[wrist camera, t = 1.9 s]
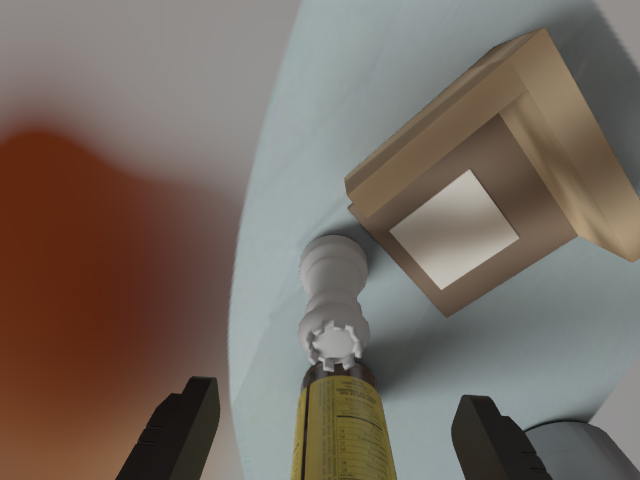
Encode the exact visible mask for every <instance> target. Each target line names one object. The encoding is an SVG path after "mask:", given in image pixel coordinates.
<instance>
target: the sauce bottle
mask: <svg viewBox="0 0 640 480" xmlns="http://www.w3.org/2000/svg"><path fill="white" fill-rule="evenodd" d="M354 364H355V366H353V367H351V368H349V369H347V370H345V369H344V367H343V363H338V364H334V372H331V371H325V370H323V362H322V361H321V362H319V363H317V364H316V365H314V366H312V367H311V368H310V369H309V370H308V371H307V373H306V375H305V377H304V379H303V382H302V386H301V395H300V397H299V399H298V407H297V417H296V428H295V439H294V450H293V461H292V471H291V480H397V476H396V471H395V466H394V461H393V456H392V451H391V446H390V441H389V436H388V431H387V426H386V420H385V415H384V410H383V405H382V401H381V398H380V396H379V394H378V389H377V384H376V382H375V379H374V378H373V376H372V374H371V372H370V371H369V370H368V368H366V367H365V366H364V365H362V364H360V363H358V362H355V361H354Z"/></svg>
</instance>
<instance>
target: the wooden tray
mask: <svg viewBox="0 0 640 480" xmlns="http://www.w3.org/2000/svg"><path fill="white" fill-rule="evenodd" d="M344 181H345V187H346V192H347V196H348V197H349V198H350V200H351V201H352V202H353V203H352V204H351V205H350V206H349V207H348V210H349V211H350V212H351V213H352V214H353V216H354V217H355V218H356V219H357V220H358V221H359V222H360V223H361V224H362V225H363V227H364V228H365V229H366V230H367V231H368V232H369V233H370V234H371V235H372V236H373V238H374V239H375V240H376V241H377V242H378V243H379V244H380V245H381V246H382V247H383V249H384V250H385V251H386V252H387V253H388V254H389V255H390V256H391V257H392V258H393V260H394V261H395V262H396V263H397V264H398V265H399V266H400V267H401V268H402V270H403V271H404V272H405V273H406V274H407V275H408V276H409V277H410V278H411V279H412V281H413V282H414V283H415V284H416V285H417V286H418V287H419V288H420V289H421V290H422V292H423V293H424V294H425V295H426V296H427V297H428V298H429V299H430V300H431V301H432V303H433V304H434V305H435V306H436V307H437V308H438V309H439V310H440V311H441V312H442V314H443V315H444V316H445V317H446V318H447V317H449V316H451V315H452V314H454V313H455V312H457V311H459V310H460V309H462V308H463V307H465V306H467V305H468V304H470V303H471V302H473V301H474V300H476V299H478V298H479V297H481V296H482V295H484V294H486V293H487V292H489V291H490V290H492V289H494V288H495V287H497V286H498V285H500V284H502V283H503V282H505V281H506V280H508V279H510V278H511V277H513V276H514V275H516V274H518V273H519V272H521V271H522V270H524V269H526V268H527V267H529V266H530V265H532V264H534V263H535V262H537V261H538V260H540V259H542V258H543V257H545V256H546V255H548V254H550V253H551V252H553V251H554V250H556V249H558V248H559V247H561V246H562V245H564V244H566V243H567V242H569V241H570V240H572V239H574V238H575V237H577V236H580V237H582V238H584V239H586V240H588V241H590V242H592V243H594V244H596V245H598V246H600V247H602V248H604V249H606V250H608V251H610V252H612V253H614V254H616V255H618V256H620V257H622V258H624V259H626V260H628V261H630V262H632V263H633V262H634V261H636V260H638V259H640V199H639V197H638V196H637V194H636V192H635V190H634V188H633V186H632V185H631V183H630V181H629V179H628V177H627V175H626V174H625V172H624V170H623V168H622V166H621V165H620V163H619V161H618V159H617V157H616V155H615V154H614V152H613V150H612V148H611V146H610V144H609V143H608V141H607V139H606V137H605V135H604V134H603V132H602V130H601V128H600V126H599V124H598V123H597V121H596V119H595V117H594V115H593V113H592V112H591V110H590V108H589V106H588V104H587V103H586V101H585V99H584V97H583V95H582V93H581V92H580V90H579V88H578V86H577V84H576V82H575V81H574V79H573V77H572V75H571V73H570V72H569V70H568V68H567V66H566V64H565V62H564V61H563V59H562V57H561V55H560V53H559V51H558V50H557V48H556V46H555V44H554V42H553V41H552V39H551V37H550V35H549V33H548V31H547V30H546V28H545V27H543V28H540V29H538V30H535V31H533V32H530V33H528V34H525V35H523V36H520V37H518V38H515V39H513V40H510V41H508V42H505V43H503V44H500V45H497V46H495V47H493V48H492V49H491V50H490V51H488V52H487V53H486V54H485V55H484V56H483V57H482V58H481V59H479V60H478V61H477V62H476V63H475V64H474V65H473V66H471V67H470V68H469V69H468V70H467V71H466V72H465V73H463V74H462V75H461V76H460V77H459V78H458V79H457V80H456V81H454V82H453V83H452V84H451V85H450V86H449V87H448V88H446V89H445V90H444V91H443V92H442V93H441V94H440V95H438V96H437V97H436V98H435V99H434V100H433V101H432V102H430V103H429V104H428V105H427V106H426V107H425V108H424V109H423V110H421V111H420V112H419V113H418V114H417V115H416V116H415V117H413V118H412V119H411V120H410V121H409V122H408V123H407V124H405V125H404V126H403V127H402V128H401V129H400V130H399V131H398V132H396V133H395V134H394V135H393V136H392V137H391V138H390V139H388V140H387V141H386V142H385V143H384V144H383V145H382V146H380V147H379V148H378V149H377V150H376V151H375V152H374V153H372V154H371V155H370V156H369V157H368V158H367V159H366V160H365V161H363V162H362V163H361V164H360V165H359V166H358V167H357V168H355V169H354V170H353V171H352V172H351V173H350V174H349V175H347V176H346V177H345V178H344Z"/></svg>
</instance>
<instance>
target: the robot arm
mask: <svg viewBox="0 0 640 480" xmlns="http://www.w3.org/2000/svg"><path fill="white" fill-rule="evenodd" d="M219 418H220V402H219V393H218V385H217V379H216V378H215V377H201V376H192V377H191V378H190V379H189V381H188V383H187V384H186V386H185V388H184V390H183V392H182V394H175V393H171V394H170V395H169V396H168V397H167V398H166V399H165V400H164V401H163V402H162V403H161V404H160V405H159V406H158V407H157V408H156V409H155V411H154V413H153V415H152V417H151V418H150V420H149V422H148V423H147V425H146V429H144V430H143V432H142V434H141V435H140V437H139V439H138V442H137V444H136V445H135V446H134V448H133V449H132V451H131V453H130V455H129V457H128V458H127V460H126V462H125V464H124V465H123V467H122V469H121V471H120V472H119V474H118V476H117V478H116V479H115V480H199V479H200V477H201V474H202V471H203V468H204V465H205V463H206V460H207V457H208V454H209V451H210V448H211V445H212V442H213V439H214V437H215V434H216V431H217V427H218V423H219ZM451 435H452V442H453V446H454V449H455V451H456V454H457V457H458V460H459V462H460V465H461V468H462V471H463V473H464V476H465V479H466V480H640V472H639V471H638V470H637V468H636V467H635V466H634V465H633V464H632V462H631V461H630V460H629V459H628V458H627V457H626V455H625V454H624V453H623V452H622V451H621V450H620V449H619V447H618V446H617V445H616V444H615V442H614V441H613V440H612V439H611V438H610V437H609V435H607V433H606V432H604V431H603V430H601V429H600V428H598V427H596V426H592V425H590V424H586V423H581V422H558V423H551V424H547V425H543V426H540V427H537V428H534V429H532V430H529V431H527V432H526V433H525V432H524V431H523V430H522V429H521V428H520V427H519V426H518V425H517V424H516V423H515V422H514V421H513V420H512V419H511V418H510V417H509V416H501V414H500V412H499V410H498V409H497V407H496V405H495V403H494V402H493V400H492V399H491V398H490V397H488V396H478V395H463V396H462V398H461V400H460V403H459V406H458V409H457V412H456V414H455V417H454V420H453V423H452V428H451Z"/></svg>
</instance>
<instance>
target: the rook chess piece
mask: <svg viewBox="0 0 640 480" xmlns="http://www.w3.org/2000/svg"><path fill="white" fill-rule="evenodd" d="M299 268H300V270H299V275H300V279H301V282H302V286H303V288H304V289H305V290H306V291H307V293H308V294H309V295H310V301H309V303H308V304H307V307H306V313H305V314H306V315H305V316H304V318H303V319H302V320H301V322H300V324H299V329H298V337H299V340H300V343H301V345H302V346H303V348H304V349H305V350H306V351H307V359H308V360H309V361H310V362H311V363H312V364H313V365H315V364H316V363H317V362H318V360H320V361H322V362H323V370H325V371H331V372H334V364H338V363H343V367H344V369H345V370H347V369H349V368H351V367H353V366H355V364H354V357H358V358H362V354H363V351H364V348H365V347H366V346H367V344H368V340H369V337H370V330H369V326H368V322H367V321H366V320H365V318H364V317H363V316H362V310H361V306H360V304H359V302H358V301H357V296H358V294H359V293H360V292H361V291H362V289H363V288H364V287H365V284H366V280H367V276H368V264H367V258H366V254H365V253H364V251H363V250H362V248H361V247H360V246H359V244H358V243H356V242H354V241H353V240H351V239H349V238H348V237H344V236H338V235H328V236H323V237H319V238H317V239H316V240H314V241H313V242H311V243H310V244H308V245H307V247H306V248H305V250H304V251H303V253H302V254H301V259H300V265H299Z"/></svg>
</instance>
